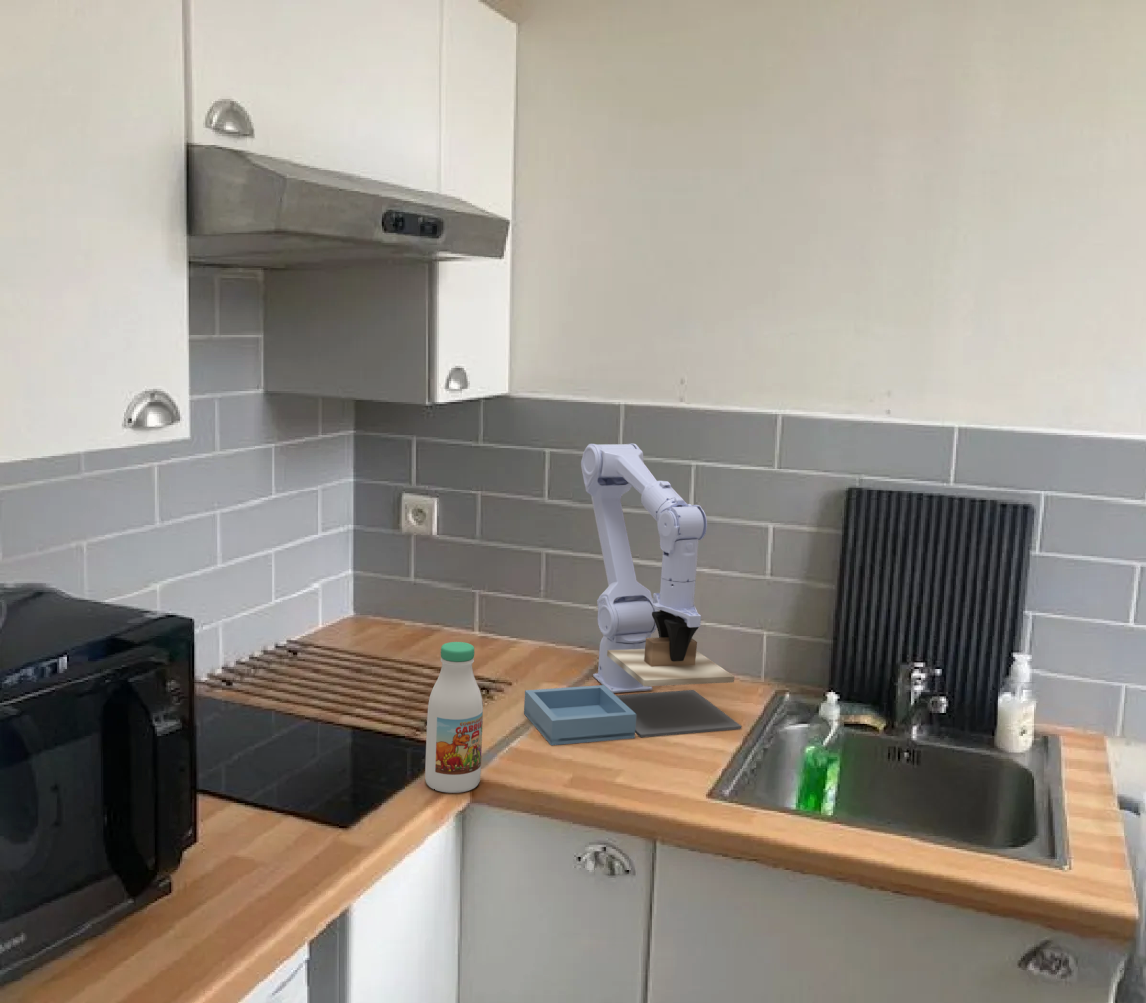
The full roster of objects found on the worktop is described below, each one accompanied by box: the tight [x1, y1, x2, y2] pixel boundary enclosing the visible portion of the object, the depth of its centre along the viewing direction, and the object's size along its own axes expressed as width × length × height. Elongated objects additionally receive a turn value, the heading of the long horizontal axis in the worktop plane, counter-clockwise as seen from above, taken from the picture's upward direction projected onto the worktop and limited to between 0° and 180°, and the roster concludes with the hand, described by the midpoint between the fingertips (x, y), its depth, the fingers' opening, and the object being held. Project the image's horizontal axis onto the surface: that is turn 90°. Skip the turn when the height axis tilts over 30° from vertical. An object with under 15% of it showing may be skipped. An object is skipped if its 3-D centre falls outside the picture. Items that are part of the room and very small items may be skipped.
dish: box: [523, 684, 636, 746], centre depth 183 cm, size 14×14×4 cm
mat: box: [615, 689, 742, 739], centre depth 191 cm, size 18×18×1 cm
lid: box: [607, 637, 735, 687], centre depth 189 cm, size 16×16×5 cm
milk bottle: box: [424, 641, 484, 794], centre depth 157 cm, size 8×8×20 cm
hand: (672, 657), depth 189 cm, fingers closed on lid, 3 cm apart
